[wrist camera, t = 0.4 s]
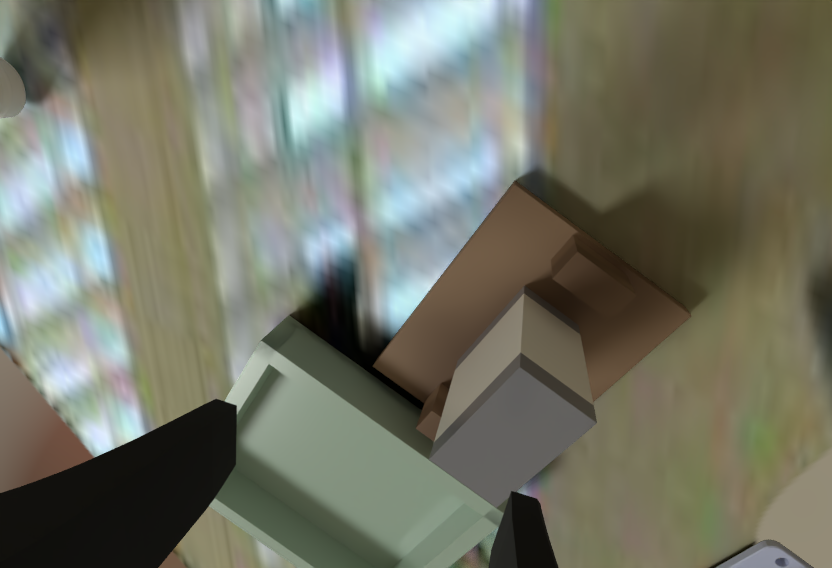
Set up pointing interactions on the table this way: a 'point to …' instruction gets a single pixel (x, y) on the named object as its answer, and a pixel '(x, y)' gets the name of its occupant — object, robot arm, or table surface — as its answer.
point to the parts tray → (340, 465)
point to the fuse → (515, 400)
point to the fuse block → (548, 278)
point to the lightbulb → (10, 91)
